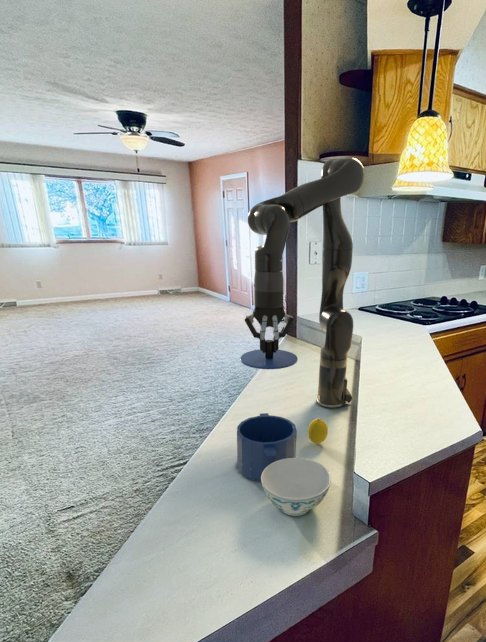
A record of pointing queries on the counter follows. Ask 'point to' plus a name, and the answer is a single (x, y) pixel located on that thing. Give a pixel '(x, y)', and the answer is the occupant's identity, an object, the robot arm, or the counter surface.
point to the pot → (264, 443)
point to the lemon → (317, 431)
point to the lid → (268, 358)
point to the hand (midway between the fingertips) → (269, 351)
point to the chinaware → (295, 484)
